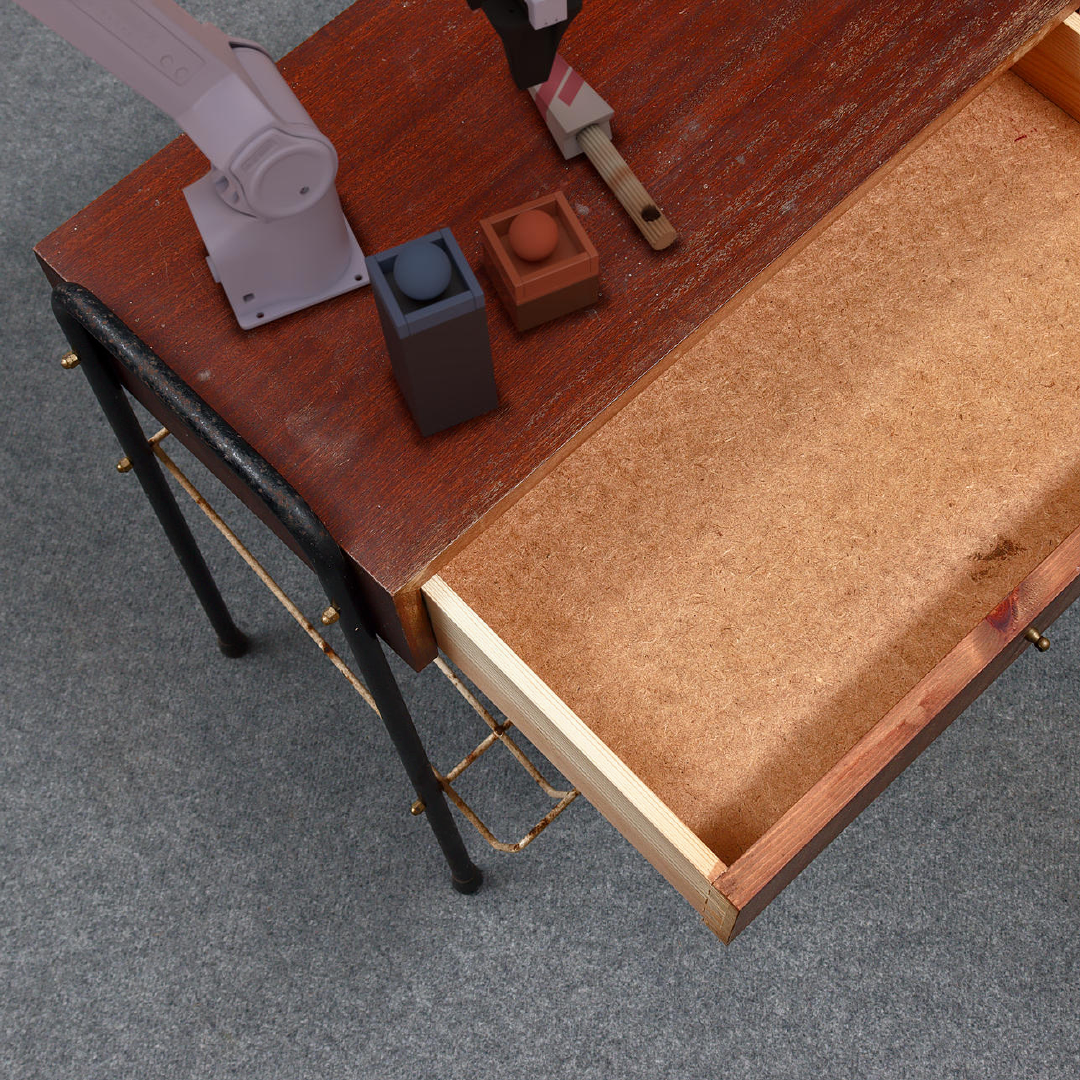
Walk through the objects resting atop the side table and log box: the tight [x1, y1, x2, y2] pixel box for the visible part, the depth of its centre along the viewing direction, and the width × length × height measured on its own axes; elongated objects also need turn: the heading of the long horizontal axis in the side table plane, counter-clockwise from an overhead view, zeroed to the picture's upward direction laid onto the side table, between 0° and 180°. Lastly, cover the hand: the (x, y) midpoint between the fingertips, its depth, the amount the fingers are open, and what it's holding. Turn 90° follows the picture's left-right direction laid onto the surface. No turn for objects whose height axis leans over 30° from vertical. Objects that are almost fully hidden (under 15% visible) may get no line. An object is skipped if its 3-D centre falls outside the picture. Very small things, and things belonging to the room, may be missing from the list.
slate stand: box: [364, 226, 499, 439], centre depth 76 cm, size 5×5×12 cm
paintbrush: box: [527, 52, 678, 251], centre depth 89 cm, size 4×3×20 cm
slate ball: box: [394, 242, 451, 300], centre depth 70 cm, size 3×3×3 cm
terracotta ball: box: [509, 210, 559, 261], centre depth 81 cm, size 3×3×3 cm
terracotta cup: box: [478, 190, 600, 333], centre depth 83 cm, size 6×6×5 cm
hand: (507, 41), depth 81 cm, fingers open, 7 cm apart
